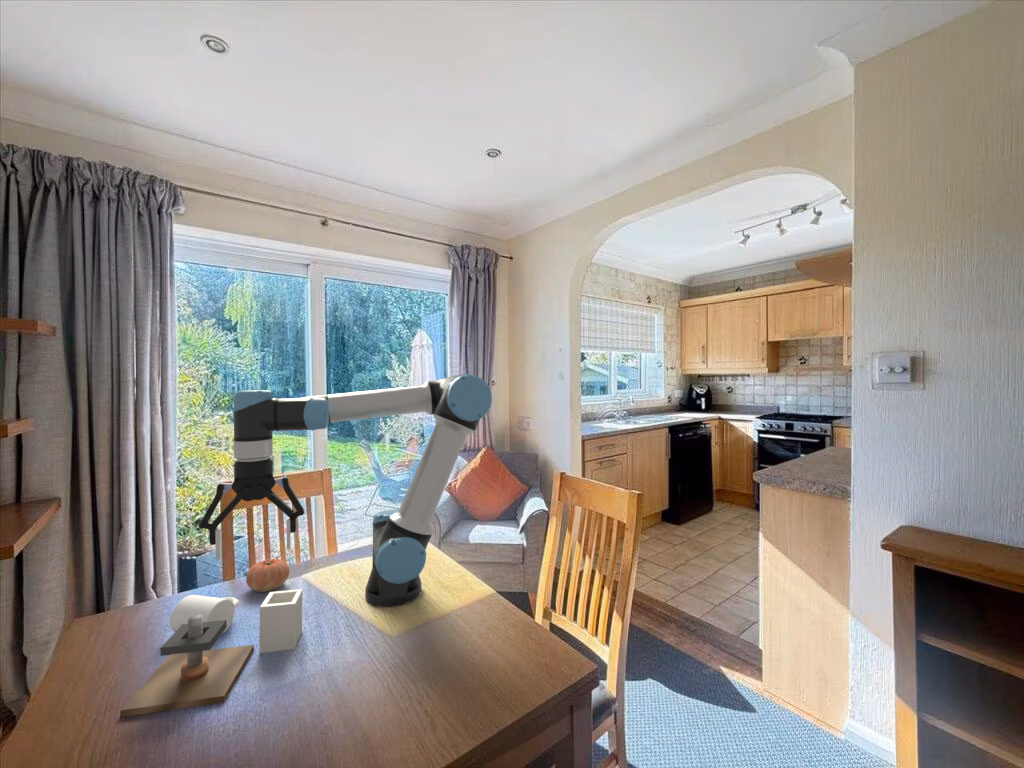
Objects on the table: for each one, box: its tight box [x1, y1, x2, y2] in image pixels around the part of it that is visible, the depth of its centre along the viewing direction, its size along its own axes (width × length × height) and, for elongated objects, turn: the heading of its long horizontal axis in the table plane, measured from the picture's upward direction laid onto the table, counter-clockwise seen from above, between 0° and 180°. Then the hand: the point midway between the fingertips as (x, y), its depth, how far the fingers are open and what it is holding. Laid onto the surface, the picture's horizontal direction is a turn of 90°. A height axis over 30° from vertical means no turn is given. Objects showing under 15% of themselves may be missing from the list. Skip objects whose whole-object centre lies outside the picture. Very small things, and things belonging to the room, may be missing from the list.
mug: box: [169, 594, 240, 635], centre depth 103 cm, size 12×10×8 cm
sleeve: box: [258, 588, 304, 654], centre depth 98 cm, size 7×7×10 cm
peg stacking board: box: [119, 615, 255, 718], centre depth 85 cm, size 16×16×12 cm
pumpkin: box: [245, 558, 290, 593], centre depth 123 cm, size 11×11×8 cm
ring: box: [159, 620, 227, 657], centre depth 85 cm, size 8×8×2 cm
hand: (254, 552), depth 98 cm, fingers open, 13 cm apart
